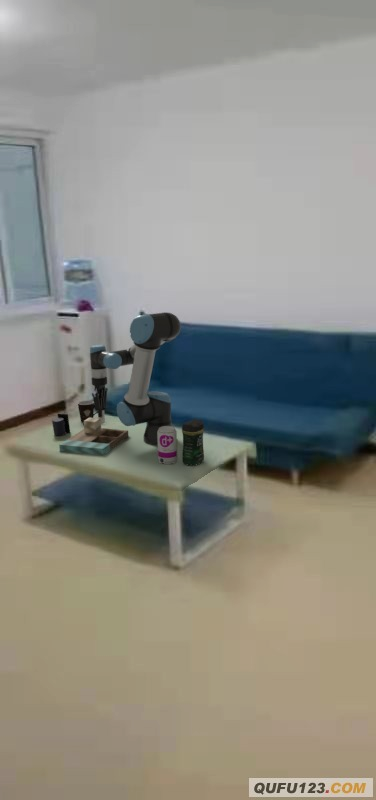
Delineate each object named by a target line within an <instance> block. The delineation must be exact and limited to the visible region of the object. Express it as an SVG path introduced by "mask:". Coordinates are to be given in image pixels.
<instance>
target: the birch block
mask: <svg viewBox="0 0 376 800" xmlns="http://www.w3.org/2000/svg"><path fill="white" fill-rule="evenodd" d="M101 428H102V423H101V418H98V417H93V418H88V419H86V420H84V422H83V429H84V433H92V434H96V433H98V432H99V431H101Z"/></svg>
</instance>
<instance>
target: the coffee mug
mask: <svg viewBox="0 0 376 800" xmlns="http://www.w3.org/2000/svg"><path fill="white" fill-rule="evenodd" d="M77 407H78V412H79V413H78V414H79V419H80V423H81V422H82V423H84V420H86V419H88V418H94V416H95V415H96V414H97V415H98V411H95V404H94V400H82V401H79V402H77ZM94 411H95V412H94Z"/></svg>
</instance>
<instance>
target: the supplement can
mask: <svg viewBox="0 0 376 800" xmlns="http://www.w3.org/2000/svg"><path fill="white" fill-rule="evenodd" d="M177 431H178V430H176V427H175V426H173V425H172V426H162V427H160V428H159V429H158V431H157V438H158V444H157V459H158V460H157V461H158V462H159V463H160V464H162V463H164V464H163V465H172V464H171V463H173V464H175V463H176V462H177V461H178V441H177V440H178V436H177V435H178V434H177V433H178V432H177ZM174 462H175V463H174Z"/></svg>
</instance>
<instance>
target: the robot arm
mask: <svg viewBox="0 0 376 800" xmlns="http://www.w3.org/2000/svg"><path fill="white" fill-rule="evenodd" d="M181 326H182V325H181V321H180V319H179V317H177V315H175V314H174V313H171V312H159V313H158V312H156V313H146V314H142V315H137V316H136V317H134V318H133V319H132V321H131V323H130V326H129V333H130V339H131V340H132V341H133V345H132V346H130V347H129V348H128V349H127V348H126V349H121V350H114V351H113V350H112V351H107V348H106V345H105V344H93V345H91V346H90V348H89V352H90V353H89V357H90V358H89V359H90V372H91V373H90V374H91V385H92V386H93V387H94V388H93V389H94V392H92V393H91V394H92V398H93V401H94V405H95V408H94V411H95V412H97V411H98V413H97V416H98V417H97V418H101V424H105V423H106V419H105V411H106V410H107V402H108V401H107V399H108V389H109V388H108V387H106V385H107V384H108V372H107V371H108V370H107V369H109V370H117V369H119V368H120V367H123V366H128V365H129V366H130V365H132V369H131V374H130V380H129V386H128V391H127V392H125V393H124V395H123V400H122V401H119V402H118V403H117V404H116V414H117V417H118V419H119V421H120V422H121V424H122V425H124V426H125V427H130V426H136V425H141V424H144V423H146V427H145V430H144V433H143V442H145V443H146V444H150V445H158V438H157V431H158V429H159V428H160V427H162V426H173V425H172V408H171V407H172V405H171V404H172V401H171V400H172V399H171V396H170V394H168V392H165V391H164V392H162V391H149V389H150V387H149V386H150V381H151V376H152V372H153V367H154V361H155V355H156V351H157V350H159V349H160V348H161V345H163V344H165V343H170V342H171V341H172V340H174V339H176V338H177V337H178V336H179V334H180V333H181V329H182V327H181Z"/></svg>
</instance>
